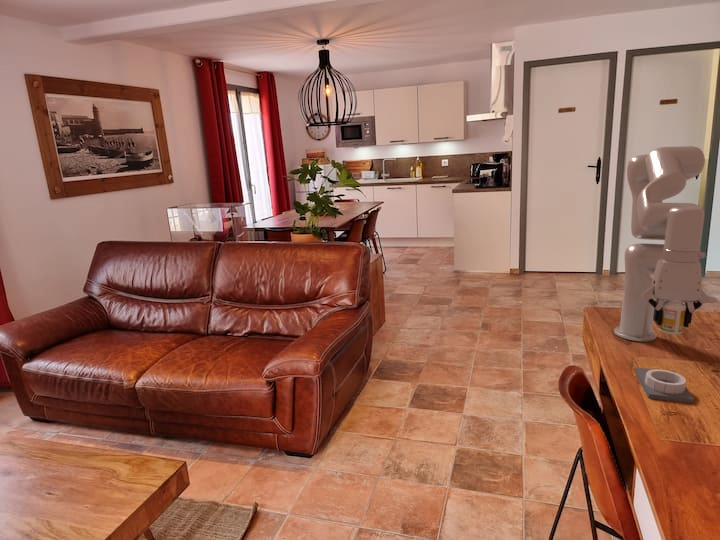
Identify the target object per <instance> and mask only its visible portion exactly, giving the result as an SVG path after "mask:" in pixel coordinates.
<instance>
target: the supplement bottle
mask: <svg viewBox="0 0 720 540" xmlns="http://www.w3.org/2000/svg"><path fill="white" fill-rule="evenodd" d="M661 310H662V311H663V315H662V322H661V325H658V330H659V331H660V332H662V333H664V334H668V335H680V334H681V335H682V334H683V331H684V328H685V327H684V319H685V312H686V306H685V302H684V301H680V300H665V302H664V304H663V306H662V309H661Z"/></svg>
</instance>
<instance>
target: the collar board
mask: <svg viewBox="0 0 720 540" xmlns="http://www.w3.org/2000/svg"><path fill="white" fill-rule="evenodd" d="M634 373H635V375H636V376H637V378H638V380H639V383H640V384H641V386H642V388H643V391H644V392H646V393H645V394H646V396H647V398H648V399H654V400H661V401H670V402H679V403H689V404H695V403H694V401H695V398H694V397H693V396H692V393H691V392H690V391H689V390H688V388H687V380H686V378H685V377H684V376H683V375H681V374H679V373H677V372H676V371H674V370H666V369H656V368H655V369H654V368H645V367H634Z"/></svg>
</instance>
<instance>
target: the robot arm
mask: <svg viewBox="0 0 720 540" xmlns="http://www.w3.org/2000/svg"><path fill="white" fill-rule="evenodd" d="M705 164H706V158H705V153H704V152H703V150H702V149H701V148H699V147H698V146H690V145H689V146H687V145H686V146H662V147H658V148H654V149H652V150H651V151H650V152H649V153H648V154H640V155H636V156H633V157H632V158H630V159H629V161H628V163H627V166H626V167H627V168H626V176H627V177H626V178H627V182H628V186H629V189H630V191H631V197H632V198H631V199H632V203H631V204H632V205H631V223H630V230H631V231H630V232H631V234H632V236H633V237H634V238H635V239H638V240H649V241H651V240H652V241H664V242H663V243H664V244H663V243H635V244H630V245H628V247H627V248H625V252H624V287H623V296H622V303H621V314H620V321H619V322H620V323H619V325H618V326H616V327H615V328H614V330H613V332H614V334H615V335H616V336H618V337H620V338H621V339H625V340H628V341H634V342H643V343H644V342H652V341H654V340H655V341H656V339H657V336H658V335H657V333H656V332H655V331H654V330H653V323H655V324H656V325H657V326H659V325H661V322H662V315H663V311H662V310H661V309H662V306H663V304H664V302H665V301H666V300H680V301H684V302H683V303H684V305H685V306H686V312H685V319H684V327H683V328H689V324H692V317H693V313H695V311H696V310H698V309H700V308H701V307H702V306H703V305H705V304H707V303H708V302H710V301H711V298H710V297H709V296H708V295H707V294H706V292H705V291H704V290H703V289H702V277H703V275H702V265H701V262H700V259H705V258H706V256H707V255H706V252H702V251H701V249H700V248H701V244H702V243H701V242H702V235H703V229H704V222H705V211H704V209H703V208H701V207H700V206H699V204H696V203H692V202H690V203H689V202H663V201H664V200H666V199H667V200H668V199H670V198H673V197H675V196H677V195H679V194H681V193H682V191H683V190H684V189H685V188H686V186H687V181H689V180H691V179H693V178H695V177H698V176H699V175H700V174H701V173H702V172H703V169H704V167H705ZM651 274H653V278H652V276H651Z"/></svg>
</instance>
